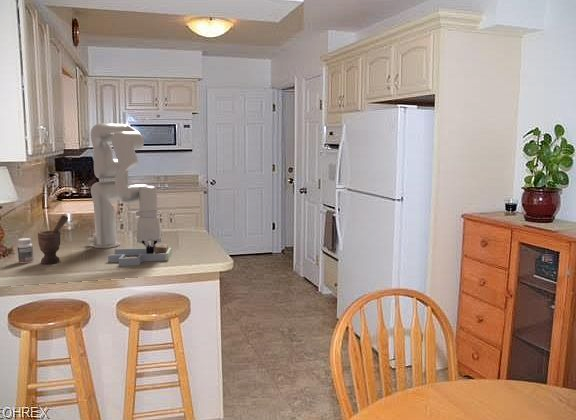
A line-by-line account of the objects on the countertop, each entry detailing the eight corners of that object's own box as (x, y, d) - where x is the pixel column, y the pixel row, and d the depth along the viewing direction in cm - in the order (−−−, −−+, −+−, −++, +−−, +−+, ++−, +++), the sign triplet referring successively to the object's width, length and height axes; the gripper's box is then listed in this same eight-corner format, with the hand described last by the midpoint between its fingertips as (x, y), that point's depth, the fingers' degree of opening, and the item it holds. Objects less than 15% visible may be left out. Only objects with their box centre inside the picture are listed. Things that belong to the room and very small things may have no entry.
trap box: (104, 266, 208) (103, 259, 207) (118, 251, 234) (118, 245, 234) (165, 264, 210) (165, 257, 210) (173, 250, 237) (173, 244, 237)
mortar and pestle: (64, 257, 223) (61, 213, 220) (72, 261, 217) (69, 215, 214) (36, 262, 215) (33, 215, 212) (44, 265, 209) (41, 218, 206)
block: (155, 259, 220) (154, 247, 220) (156, 256, 225) (156, 245, 225) (166, 258, 221) (166, 247, 220) (168, 256, 226) (167, 245, 225)
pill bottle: (22, 260, 218) (20, 237, 217) (35, 260, 218) (34, 237, 217) (16, 263, 212) (14, 240, 211) (30, 263, 213) (28, 240, 211)
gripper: (129, 215, 216) (131, 257, 218) (164, 215, 217) (166, 256, 220) (132, 213, 223) (134, 253, 226) (167, 212, 224) (168, 253, 227)
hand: (150, 255), depth 223 cm, fingers closed
